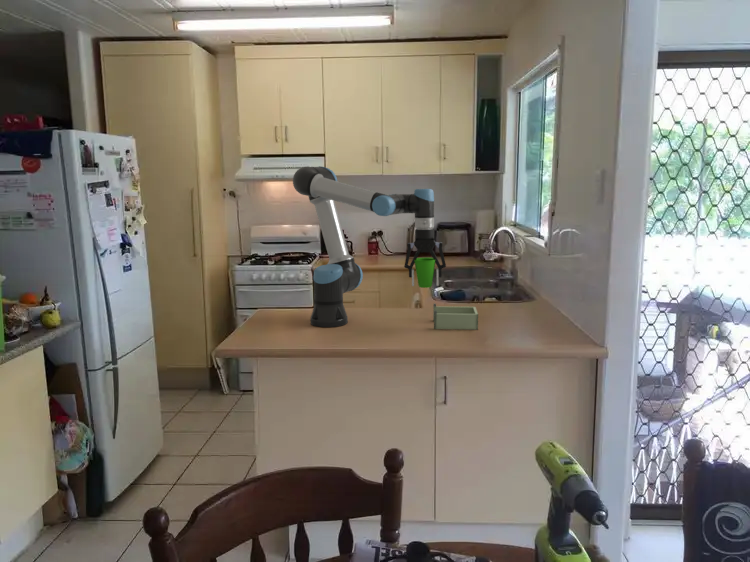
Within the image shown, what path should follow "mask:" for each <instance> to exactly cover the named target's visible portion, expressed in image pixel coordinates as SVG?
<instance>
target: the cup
mask: <svg viewBox="0 0 750 562" xmlns="http://www.w3.org/2000/svg"><path fill="white" fill-rule="evenodd" d="M414 261H415V263H414V265H415V273H416V279H417V283H418V284H417V285H418V287H419V288H425V289H428V288H431V287H432V285H433V281H434V275H435V274H434V273H435V266H436V263H435V260H434V259H433V257H417V259H416V260H414Z"/></svg>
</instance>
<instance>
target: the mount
mask: <svg viewBox="0 0 750 562" xmlns="http://www.w3.org/2000/svg"><path fill="white" fill-rule="evenodd" d="M432 308H433V310H432V311H433V312H432V314H433V317H432V318H433V329H434V330H477V331H478V330H479V313H478V312H479V311H478V310H477V307H476V306H437V303H433V307H432Z"/></svg>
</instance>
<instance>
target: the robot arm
mask: <svg viewBox="0 0 750 562" xmlns="http://www.w3.org/2000/svg"><path fill="white" fill-rule="evenodd" d="M292 186H293V187H294V189H295V191H296V192H298V194H300V195H302V196H307V197H308V200H309V202H310V203H311V204H313V206H314V208H315V212H316V216H317V219H318V223H319V226H320V230H321V233H322V237H323V241H324V244H325V249H326V251H327V255H328V259H329V260H328V262H327V264H322V265H319V266H317V267H316V268H315V269H314V270H313V299H314V302H313V303H314V305H313V309H312V311H311V315H310V325H311V326H314V327H318V328H336V327H341V326H345V325H347V324H348V320H349V319H348V318H349V317H348V315H347V311H346V308H345V305H344V294H346V293H347V292H348V293H349V292H352V291H354V290H355V289H356V288H358V287H359V286H361V283H362V281H363V279H364V272H363V270H362V268H361V266H360V265H358V264H357V263H356V262H355V258H354V256H352V255H350V252H349V249H348V246H347V245H348V244H347V243H346V239H345V235H344V234H345V233H344V232H343V227H342V223H341V220H340V216H339V212H338V209H337V204H336V202H338V203H342V204H345V205H349V206H351V207H352V206H353V207H356V208H359V209H362V210H366V211H370V212H373V213H374V214H376V215H377V216H380V217H389V216H392V215H399V214H414V228H415V230H414V240H415V241H414V242H408V243H407V251H406V258H405V260H404V265H403V267H404V268H405V269H407V270H408V277H409V278H411V286H412V287H414V286H415V268H414V265H415V261H414V260H416V259H417V258H419V255H420V253H421V254H423V253H430V255H431V258H433V259H434V260H435V266H437V268H436V270H435V271H436V287H439V284H440V281H439V278H442V270H443V269H444V268H446V267H447V263H446V259H445V256H444V253H443V242H441V241H440V242H438V241H436V240H435V229H434V227H435V193H434V190H433V189H432V188H416V189H414V192H413V193H411V194H410V193H402V194H400V193H392V194H385V193H381V192H378V191H375V190H374V191H373V190H372V189H371V190H369V189H366V188H363V187H359V186H356V185H352V184H348V183H345V182H340V181H338V178H337V175H336V173H335V172H334V171H333V170H332V169H331V168H328V167H325V166H303V167H300V168H298V169H297V170H296V171H295V172H294V174H293V177H292ZM435 246H436V248H438V251H439V256H440V260H441V263H442V264H441V263H440V261H439V259H438V258H437V256H436V254H435V251H434V250H433V249H434V247H435ZM414 247H415V248H416V249H417V250H416V252H415V254H414V256H413V258H412V260H411V262H410V261H409V260H410V255H411V251H412V249H413V248H414ZM409 262H410V264H409Z"/></svg>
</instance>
